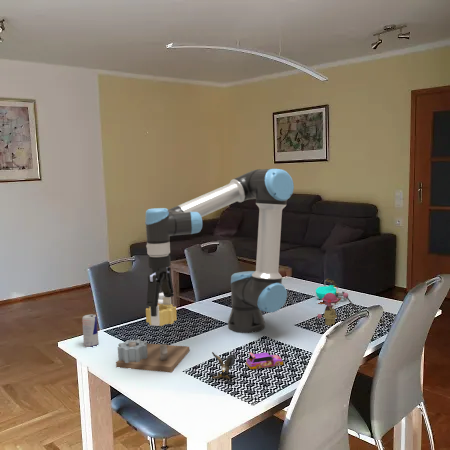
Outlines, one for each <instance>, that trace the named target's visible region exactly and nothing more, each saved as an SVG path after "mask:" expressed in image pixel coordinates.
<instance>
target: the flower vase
mask: <svg viewBox="0 0 450 450" xmlns="http://www.w3.org/2000/svg"><path fill="white" fill-rule="evenodd" d="M341 293H343V296H342V298H344V299H346V300H348V302H349V303H350V305H351V306H352V307H353V308H354V309H357V307H356V305H354V303H353V302H352V301H351V300H350V299H349V294H348V292H344V291H341ZM322 300H323V301H324V302H325V304H326V305H325V306H326V307H325V308H324V314H323V315H322V314H321V313H318V314H317V315H316V317H317V318H318V319H322V318H324V319H325V323H324V324H325V325H326V326H333V325H335V324H336V323H335V322H336V321H335V320H336V319H337V318H338V316H337V315H336V314H337V313H336V310H335V308H336V305H339V304H340V303H341V300H340V299H338V297H336V296H335V295H334V294H333V293H327V294H326V295H325V296H324V298H322ZM339 300H340V301H339ZM336 301H338V302H337V303H336ZM335 304H336V305H335ZM332 324H333V325H332Z"/></svg>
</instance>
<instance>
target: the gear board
mask: <svg viewBox="0 0 450 450" xmlns="http://www.w3.org/2000/svg"><path fill="white" fill-rule="evenodd" d="M135 346H136V342H130V343H129V347H135ZM190 350H191V349H190V346H188V345H187V346H186V345H185V346H184V345H171V344H167V343H162V344H159V343H158V344H156V343H147V352H148V354H147V358H146V359H141V360H140V362H136V361H134V362H129V363H125V361H123V360H121V361H119V360H117V361H116V362H115V366H116V367H115V368H117V367H120V368H119V369H128V368H131V369H130V370H139V371H140V370H141V371H149V372H150V371H151V372H159V373H160V372H161V373H173V371H174V370H175V369H177V367H178V366H179V365H180V363H181V362H182V361H183V360H184V358H186V356H187V355H188V353H190Z"/></svg>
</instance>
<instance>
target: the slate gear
mask: <svg viewBox="0 0 450 450" xmlns="http://www.w3.org/2000/svg"><path fill="white" fill-rule="evenodd" d="M130 342H136V346H135V347H129V343H130ZM147 344H148V342H147V340H144V341H142V340H141V339H139V338H138V339H134V340H133V339H132V340H131V339H127V340H126V341H125V342H120V343H118V346H117V359H118V360H119V361H121V360H123V361H125V363H129V362H134V361H136V362H140V360H141V359H146V358H147V354H148V352H147ZM118 360H117V361H118Z"/></svg>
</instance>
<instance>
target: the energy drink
mask: <svg viewBox="0 0 450 450" xmlns="http://www.w3.org/2000/svg"><path fill="white" fill-rule="evenodd" d="M81 322H82V337H83V347H84V346H85V347H84V348H86V347H92V348H94V347H93V346H96V347H98V346H99V344H100V343H99V330H98V329H99V328H98V327H99V326H98V317H97V315H96V314H93V313H91V314H85V315H83V316H82V318H81ZM97 345H98V346H97Z"/></svg>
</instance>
